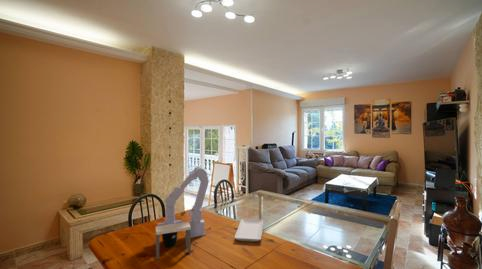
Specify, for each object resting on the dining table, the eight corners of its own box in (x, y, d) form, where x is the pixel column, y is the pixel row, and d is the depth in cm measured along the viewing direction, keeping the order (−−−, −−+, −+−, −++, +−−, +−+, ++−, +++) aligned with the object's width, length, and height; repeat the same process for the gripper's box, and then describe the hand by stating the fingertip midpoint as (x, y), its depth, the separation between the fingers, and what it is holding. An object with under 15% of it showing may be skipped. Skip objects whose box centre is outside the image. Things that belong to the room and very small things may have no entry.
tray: (233, 243, 138) (233, 237, 138) (241, 222, 170) (241, 218, 170) (261, 245, 136) (261, 239, 136) (263, 224, 167) (263, 219, 167)
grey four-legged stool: (188, 246, 134) (188, 221, 134) (190, 252, 127) (190, 226, 127) (155, 252, 127) (155, 226, 127) (156, 259, 120) (156, 232, 120)
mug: (172, 249, 130) (172, 232, 130) (158, 247, 132) (158, 230, 132) (183, 240, 142) (182, 224, 141) (170, 238, 144) (170, 222, 144)
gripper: (181, 211, 150) (181, 232, 150) (157, 214, 144) (157, 235, 144) (182, 215, 143) (182, 236, 143) (158, 218, 138) (158, 240, 138)
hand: (170, 236), depth 143 cm, fingers closed
